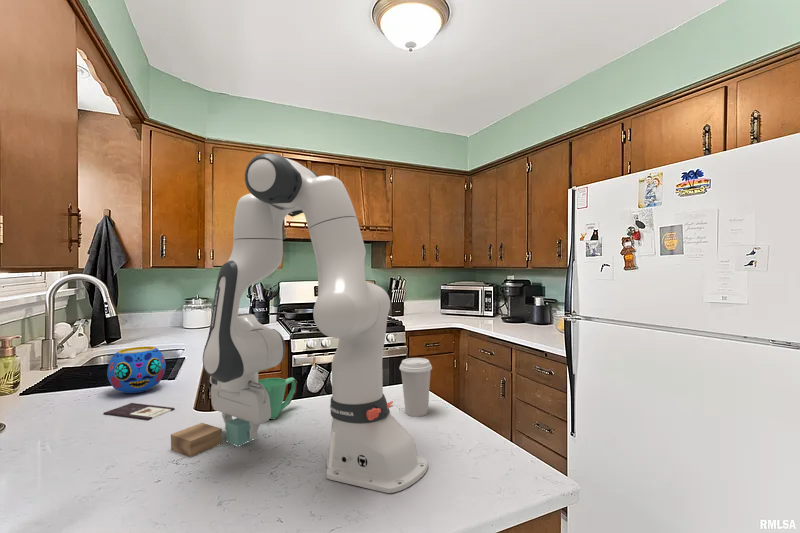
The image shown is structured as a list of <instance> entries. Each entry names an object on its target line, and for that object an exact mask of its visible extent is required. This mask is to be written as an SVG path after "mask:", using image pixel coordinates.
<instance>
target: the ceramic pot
mask: <svg viewBox="0 0 800 533" xmlns="http://www.w3.org/2000/svg"><path fill="white" fill-rule="evenodd" d="M166 364H167V363H166V360H165V356H164V354H163V353H162V351H161V350H160V349H158V348H157V347H155V346H149V345H148V346H135V347H128V348H123V349H120V350H118V351H117V352H115V353H114V354H113V355H112V356H111V358H110V361H109V363H108V366H107V370H106V371H107V372H106V375H107V380H108V382H109V384H110V385H111V386H112V388H113V389H115V390H117V391H118V392H120V393H124V394H125V393H126V394H138V393H143V392H147V391H148V390H151V389H152V388H154V387H156V386H157V385H159V384H160V382H161V380H162V379H163V376H164V375H165V374H166V373H165V372H166V368H167V365H166Z"/></svg>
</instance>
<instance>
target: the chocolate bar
mask: <svg viewBox="0 0 800 533" xmlns="http://www.w3.org/2000/svg"><path fill="white" fill-rule="evenodd" d="M175 410H176V408H175V407H170V406H163V405H162V406H160V405H154V404H145V403H144V404H143V403H136V402H131V403H128V404H125V405H121V406H119V407H116V408H113V409H110V410H107V411H103V414H102V415H104V416H112V417H119V418H126V419H133V420H134V419H135V420H141V421H150V420H153V419H156V418H158V417H161V416H162V415H165V414H167V413H170V412H173V411H175Z"/></svg>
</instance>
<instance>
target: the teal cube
mask: <svg viewBox="0 0 800 533" xmlns="http://www.w3.org/2000/svg"><path fill="white" fill-rule="evenodd" d="M232 419H233V420H230V421H227V422H226V429H225V440H226V441H228V442H230V443H232V444H231V445H233V444H235V445H237V446H236V447H240V446H239V445H241V444H243V443H245V442H247V441H250V440H252V439H249V438H248V437H247V436H248V435H247V431H250V428H251V426H250V425H249V422H248V421H245V420H242V419H239V418H237V417H235V418H232ZM228 442H227V443H228ZM250 442H251V441H250ZM230 443H229V444H230ZM245 444H246V443H245ZM235 445H234V446H235ZM243 445H244V444H243ZM241 446H242V445H241Z"/></svg>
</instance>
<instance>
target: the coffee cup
mask: <svg viewBox="0 0 800 533" xmlns="http://www.w3.org/2000/svg"><path fill="white" fill-rule="evenodd" d="M399 370H400V373H401V382H402V383H401V384H402V391H403V392H402V393H403V400H404V401H403V402H404V410H405V414H406V416H409V417H413V418H414V417H415V418H419V417H424V416H427V415H428V413H429V403H430V402H429V400H430V386H431V385H430V383H431V371H432V370H433V366H432V364H431V361H430V359H428V358H424V357H423V358H422V357H409V358H405V359H402V360H401V363H400V365H399Z"/></svg>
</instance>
